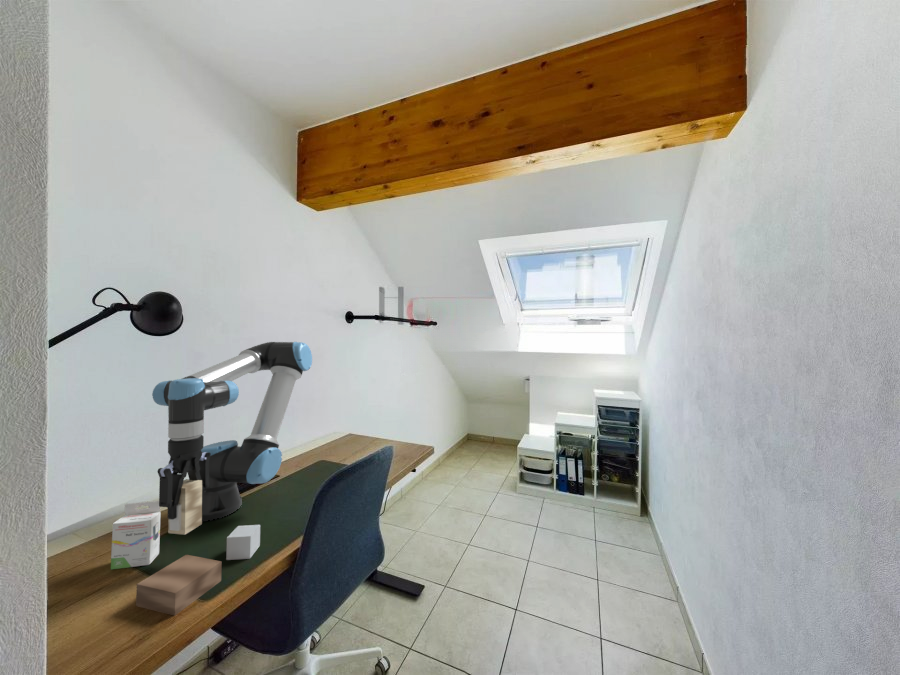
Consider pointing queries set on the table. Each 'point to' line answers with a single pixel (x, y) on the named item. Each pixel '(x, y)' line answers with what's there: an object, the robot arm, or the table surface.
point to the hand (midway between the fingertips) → (185, 523)
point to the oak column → (190, 506)
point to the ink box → (136, 536)
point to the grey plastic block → (243, 542)
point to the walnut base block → (178, 584)
